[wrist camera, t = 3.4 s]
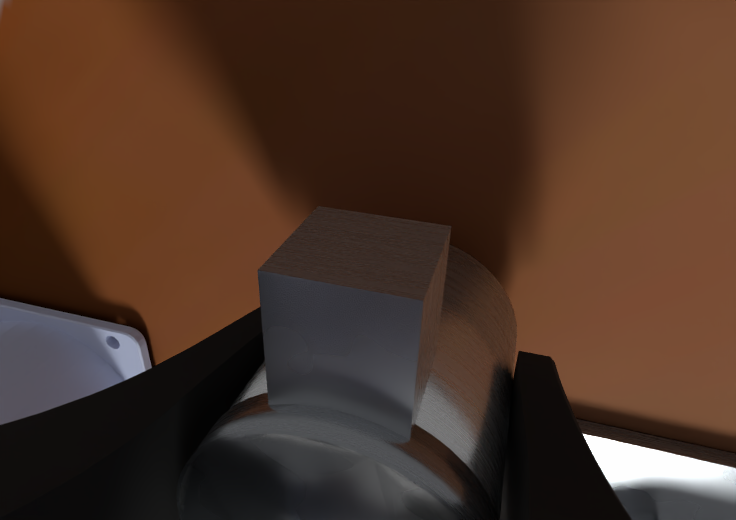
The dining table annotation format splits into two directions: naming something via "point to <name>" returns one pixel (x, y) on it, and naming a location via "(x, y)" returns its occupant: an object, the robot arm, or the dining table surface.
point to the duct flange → (664, 475)
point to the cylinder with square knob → (366, 383)
